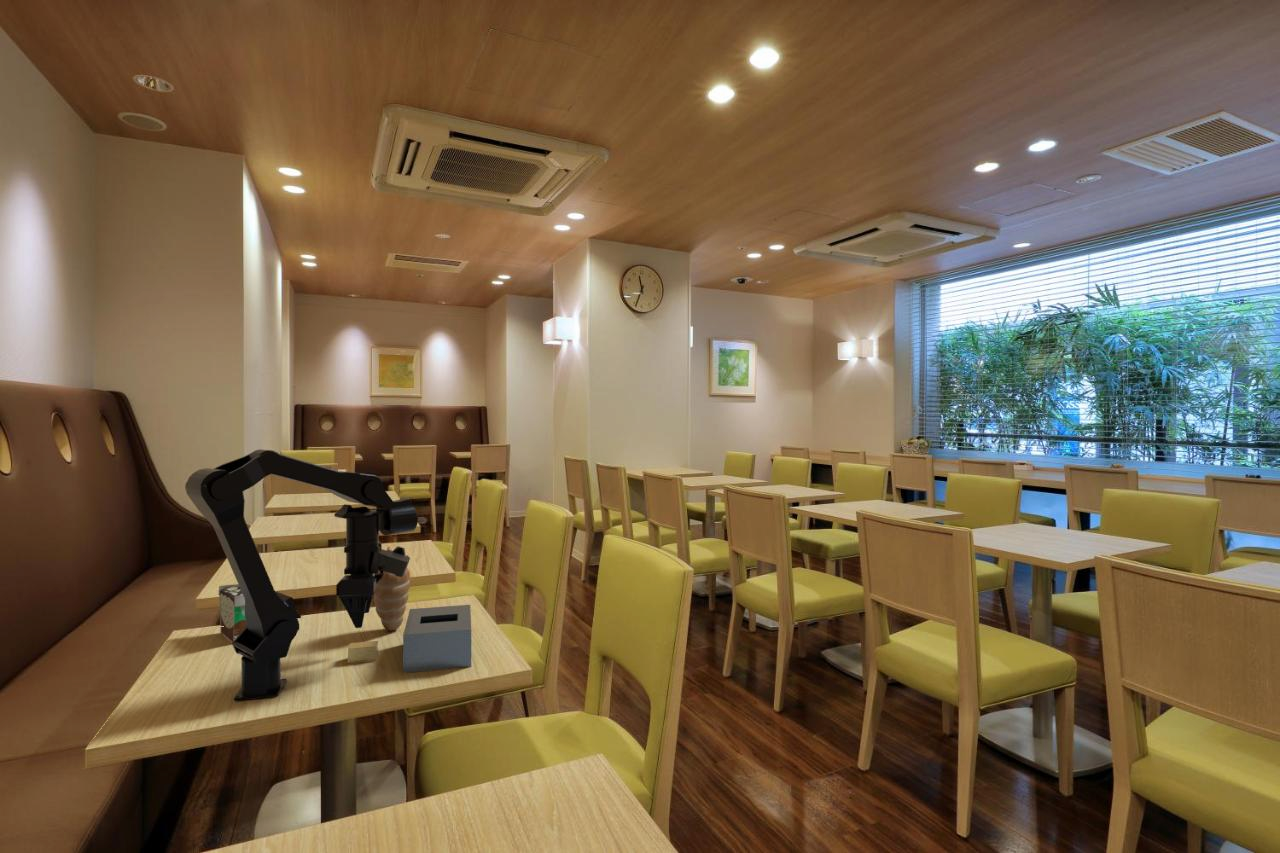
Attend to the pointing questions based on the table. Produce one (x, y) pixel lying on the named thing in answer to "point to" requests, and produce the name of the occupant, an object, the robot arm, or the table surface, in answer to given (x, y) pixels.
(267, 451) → the robot arm
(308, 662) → the table surface
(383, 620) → the tan ribbed tall piece
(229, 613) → the food container
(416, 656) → the box
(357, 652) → the tan brushed block
